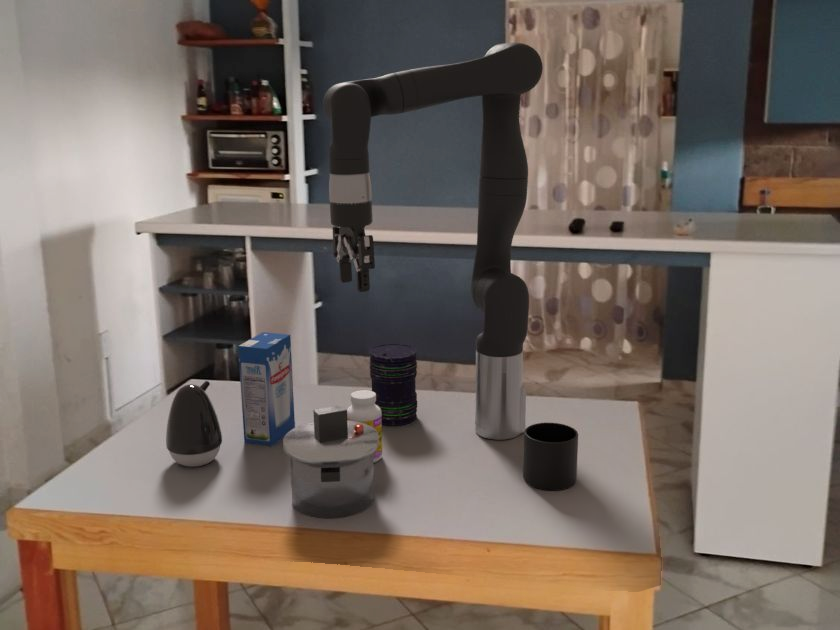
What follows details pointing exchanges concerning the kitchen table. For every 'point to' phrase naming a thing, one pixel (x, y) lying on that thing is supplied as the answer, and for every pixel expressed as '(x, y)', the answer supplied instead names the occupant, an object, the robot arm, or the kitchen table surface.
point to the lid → (331, 438)
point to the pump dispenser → (193, 427)
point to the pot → (332, 487)
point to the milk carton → (266, 388)
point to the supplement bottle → (367, 415)
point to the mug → (550, 456)
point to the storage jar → (394, 383)
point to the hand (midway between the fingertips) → (354, 286)
